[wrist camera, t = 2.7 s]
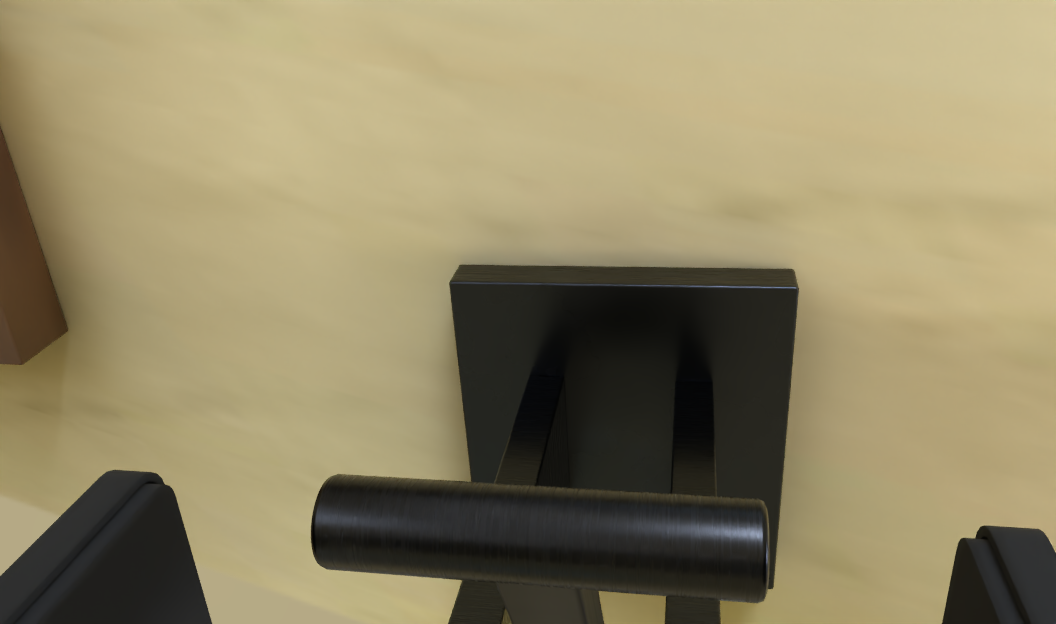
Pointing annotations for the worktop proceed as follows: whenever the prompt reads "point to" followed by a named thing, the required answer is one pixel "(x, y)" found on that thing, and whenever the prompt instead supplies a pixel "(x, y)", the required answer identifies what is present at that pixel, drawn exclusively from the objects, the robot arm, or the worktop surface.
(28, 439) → the worktop surface
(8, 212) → the button box
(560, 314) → the bracket
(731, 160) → the worktop surface
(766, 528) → the lever
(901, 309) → the worktop surface
